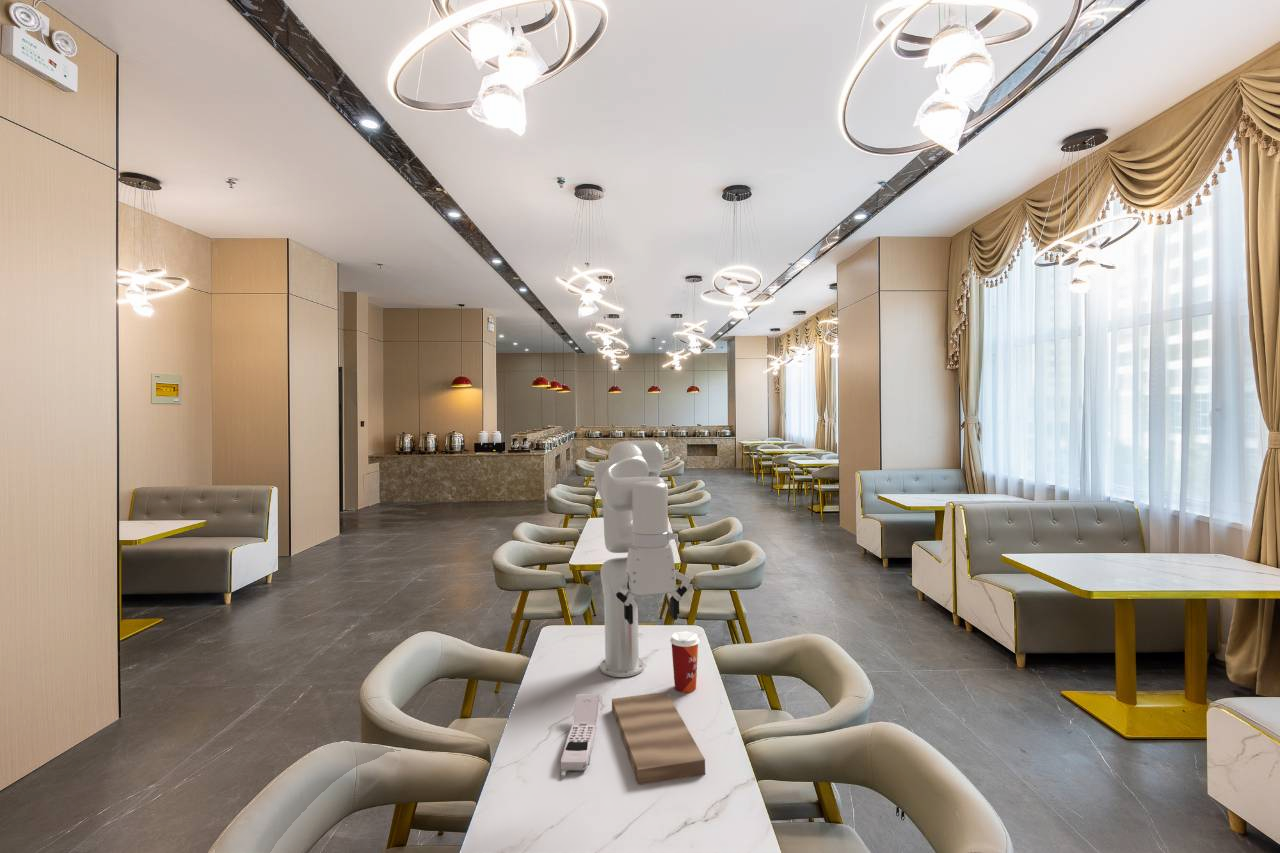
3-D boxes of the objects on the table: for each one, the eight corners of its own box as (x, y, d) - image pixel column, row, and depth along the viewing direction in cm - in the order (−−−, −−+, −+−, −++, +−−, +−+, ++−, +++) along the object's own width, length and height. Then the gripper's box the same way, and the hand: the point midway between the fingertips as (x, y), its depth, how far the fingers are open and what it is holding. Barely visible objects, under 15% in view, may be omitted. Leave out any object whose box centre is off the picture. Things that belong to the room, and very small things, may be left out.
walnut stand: (611, 710, 151) (611, 698, 150) (666, 703, 154) (666, 691, 153) (638, 784, 121) (637, 769, 121) (705, 774, 124) (705, 759, 124)
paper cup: (698, 695, 157) (697, 642, 157) (668, 693, 159) (668, 640, 158) (701, 682, 165) (700, 631, 164) (673, 680, 167) (672, 629, 166)
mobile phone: (600, 692, 148) (585, 751, 123) (601, 716, 148) (586, 780, 123) (576, 693, 148) (556, 751, 123) (577, 716, 149) (557, 780, 124)
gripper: (684, 533, 135) (685, 610, 135) (607, 539, 131) (608, 618, 131) (695, 540, 127) (696, 622, 128) (613, 546, 123) (615, 630, 124)
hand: (651, 620), depth 130 cm, fingers open, 9 cm apart
